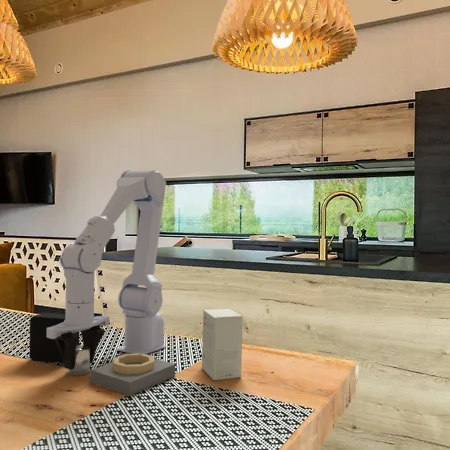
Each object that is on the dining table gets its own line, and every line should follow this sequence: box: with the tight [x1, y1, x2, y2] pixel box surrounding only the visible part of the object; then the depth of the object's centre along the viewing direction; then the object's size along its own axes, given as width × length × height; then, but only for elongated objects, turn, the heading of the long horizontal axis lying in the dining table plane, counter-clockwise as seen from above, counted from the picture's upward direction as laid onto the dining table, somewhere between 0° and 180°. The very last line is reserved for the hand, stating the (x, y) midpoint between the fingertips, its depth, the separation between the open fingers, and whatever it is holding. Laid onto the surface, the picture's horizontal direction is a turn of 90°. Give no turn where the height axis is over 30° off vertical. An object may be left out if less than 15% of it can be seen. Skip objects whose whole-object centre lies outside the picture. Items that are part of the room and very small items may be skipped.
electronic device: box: [29, 312, 81, 365], centre depth 105 cm, size 4×10×10 cm, turn 78°
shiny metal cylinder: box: [67, 344, 91, 377], centre depth 97 cm, size 4×4×5 cm
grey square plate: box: [89, 353, 176, 396], centre depth 94 cm, size 13×11×4 cm
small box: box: [201, 308, 243, 381], centre depth 99 cm, size 8×6×13 cm
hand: (79, 365), depth 97 cm, fingers closed on shiny metal cylinder, 4 cm apart
